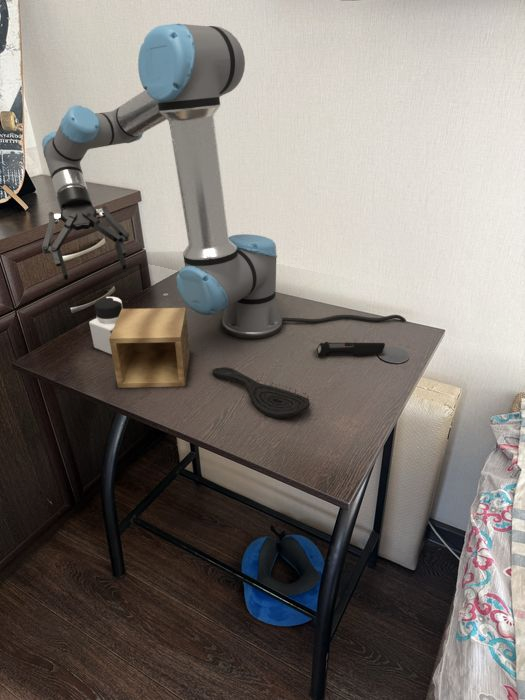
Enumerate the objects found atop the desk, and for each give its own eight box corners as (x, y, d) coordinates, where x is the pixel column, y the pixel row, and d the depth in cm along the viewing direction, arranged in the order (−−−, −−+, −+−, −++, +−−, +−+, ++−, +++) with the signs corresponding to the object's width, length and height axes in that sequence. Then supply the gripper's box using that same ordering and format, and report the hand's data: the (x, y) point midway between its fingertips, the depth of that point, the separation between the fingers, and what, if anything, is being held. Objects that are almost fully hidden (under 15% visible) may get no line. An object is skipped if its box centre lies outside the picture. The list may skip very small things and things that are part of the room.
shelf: (189, 353, 116) (185, 307, 110) (185, 386, 105) (180, 336, 99) (129, 355, 116) (121, 308, 109) (117, 388, 104) (108, 338, 98)
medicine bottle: (115, 356, 115) (106, 309, 109) (93, 348, 118) (84, 302, 112) (137, 343, 120) (130, 298, 114) (116, 335, 123) (108, 291, 117)
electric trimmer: (385, 358, 115) (387, 347, 113) (317, 358, 115) (319, 346, 113) (381, 350, 118) (383, 338, 117) (316, 350, 118) (317, 338, 116)
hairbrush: (226, 353, 111) (319, 392, 96) (227, 367, 113) (318, 408, 98) (199, 369, 106) (292, 413, 91) (201, 383, 107) (293, 429, 93)
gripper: (122, 196, 131) (145, 269, 127) (19, 208, 121) (41, 288, 117) (124, 179, 124) (149, 256, 120) (15, 190, 114) (38, 275, 110)
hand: (95, 272), depth 119 cm, fingers open, 13 cm apart
